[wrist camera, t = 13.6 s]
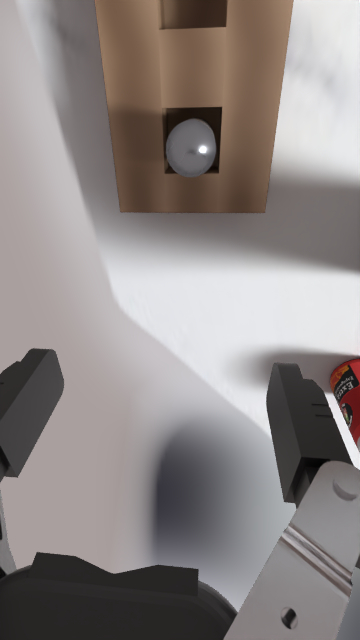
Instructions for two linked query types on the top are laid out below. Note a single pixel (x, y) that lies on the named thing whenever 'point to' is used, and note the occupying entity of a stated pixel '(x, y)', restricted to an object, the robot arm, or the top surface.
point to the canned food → (348, 395)
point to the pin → (191, 147)
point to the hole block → (193, 97)
